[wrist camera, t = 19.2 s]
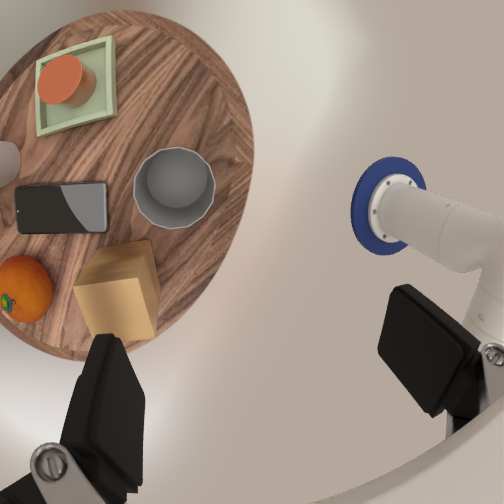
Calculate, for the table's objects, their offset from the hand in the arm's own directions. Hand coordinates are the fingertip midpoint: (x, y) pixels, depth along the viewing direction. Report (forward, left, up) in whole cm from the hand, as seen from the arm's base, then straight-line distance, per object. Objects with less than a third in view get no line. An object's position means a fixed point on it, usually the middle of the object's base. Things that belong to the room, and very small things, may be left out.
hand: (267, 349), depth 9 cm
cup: (+3, -2, -32) cm, 32 cm away
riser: (+12, +10, -32) cm, 35 cm away
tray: (+16, -18, -32) cm, 40 cm away
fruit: (+30, +9, -32) cm, 45 cm away
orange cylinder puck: (+16, -18, -31) cm, 39 cm away
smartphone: (+21, -1, -32) cm, 38 cm away
